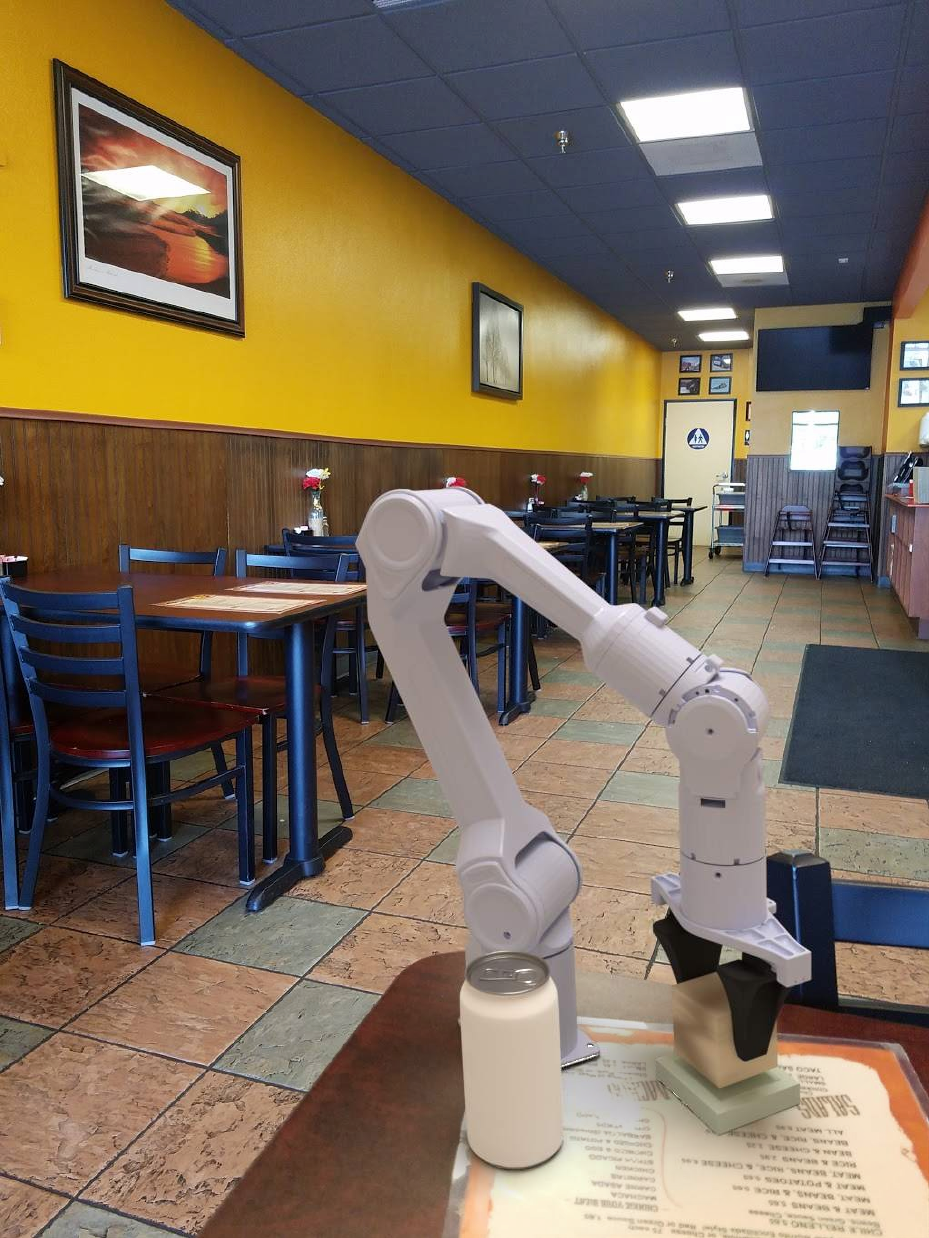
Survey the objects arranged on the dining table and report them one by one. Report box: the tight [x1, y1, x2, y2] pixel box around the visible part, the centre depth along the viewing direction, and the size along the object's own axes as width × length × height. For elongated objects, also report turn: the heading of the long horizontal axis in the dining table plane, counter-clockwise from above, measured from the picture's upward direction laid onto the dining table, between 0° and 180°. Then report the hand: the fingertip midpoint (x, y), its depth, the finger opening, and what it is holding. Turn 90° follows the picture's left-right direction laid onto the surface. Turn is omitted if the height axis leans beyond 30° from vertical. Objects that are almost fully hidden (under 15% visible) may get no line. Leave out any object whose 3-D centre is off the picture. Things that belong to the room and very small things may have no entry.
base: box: [655, 1052, 801, 1136], centre depth 68 cm, size 7×7×2 cm
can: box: [459, 950, 564, 1171], centre depth 63 cm, size 6×6×12 cm
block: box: [671, 972, 779, 1089], centre depth 67 cm, size 5×5×5 cm
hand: (725, 1034), depth 67 cm, fingers closed on block, 5 cm apart
